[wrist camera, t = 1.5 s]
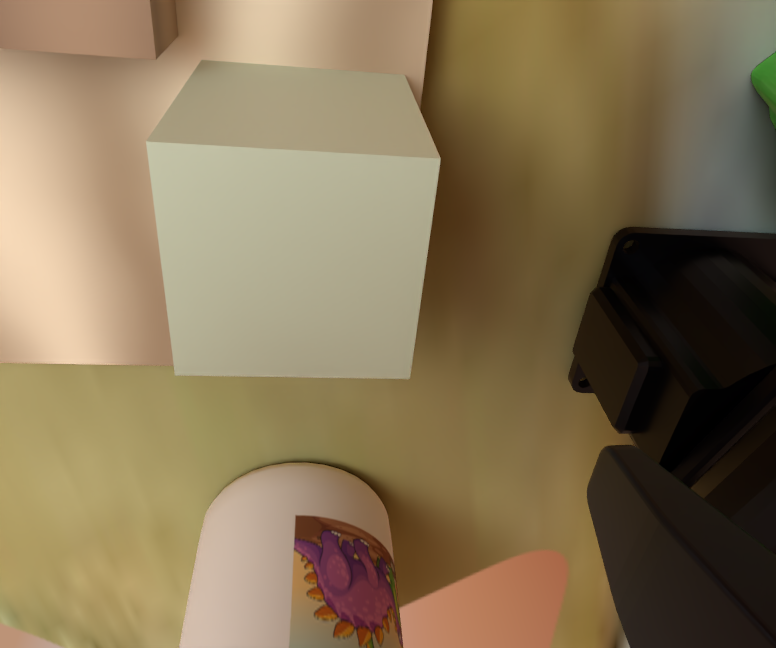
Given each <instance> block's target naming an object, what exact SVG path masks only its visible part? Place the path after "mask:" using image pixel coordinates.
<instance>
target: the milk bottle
mask: <svg viewBox="0 0 776 648" xmlns="http://www.w3.org/2000/svg"><path fill="white" fill-rule="evenodd" d="M179 648H403V642H402V631H401V622H400V613H399V603H398V593H397V584H396V575H395V566H394V557H393V547H392V539H391V532H390V525H389V518H388V514H387V511H386V509H385V507H384V505H383V503H382V502H381V500H380V499H379V497H378V496H377V494H376V493H375V492H374V491H373V490H372V489H371V488H370V487H369V486H368V484H366V483H365V482H363V481H362V480H360V479H359V478H358V477H356V476H355V475H352V474H350V473H348V472H346V471H343V470H341V469H338V468H334V467H330V466H327V465H323V464H314V463H307V462H302V463H283V464H277V465H270V466H266V467H263V468H260V469H257V470H253V471H251V472H249V473H247V474H245V475H243V476H241V477H239V478H237V479H236V480H234V481H233V482H232V483H230V484H229V485H228V486H226V487H225V488H224V489H223V490H222V492H221V493H220V494H219V495H218V496H217V497H216V498H215V500H214V501H213V502H212V504H211V505H210V507H209V508H208V510H207V512H206V515H205V518H204V522H203V526H202V531H201V535H200V540H199V544H198V550H197V555H196V560H195V565H194V571H193V576H192V581H191V586H190V592H189V597H188V603H187V608H186V613H185V619H184V624H183V630H182V635H181V640H180V646H179Z"/></svg>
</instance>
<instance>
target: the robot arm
mask: <svg viewBox="0 0 776 648" xmlns="http://www.w3.org/2000/svg"><path fill="white" fill-rule="evenodd" d="M630 240H634V242H633V244H632V245H631V246H630V247H628V248H623V247H624V245H625V244H626V243H627V242H628V241H630ZM573 353H574V355H575V357H574V360H573V363H572V366H571V369H570V372H569V377H568V380H569V382H570V384H571V386H572V388H573V390H575V391H576V392H580V393H595V394H596V396H597V398H598V400H599V402H600V404H601V406H602V408H603V409H604V411H605V413H606V415H607V417H608V419H609V421H610V422H611V424H612V426H613V427H614V428H615V429H616V431H617V432H618V433H621V434H629V435H630V437H631V439H632V441H633V442H634V444H635V446H636V447H635V446H632V445H615V446H606V447H604V448H603V449H602V450H601V452H600V454H599V457H598V460H597V462H596V465H595V468H594V470H593V473H592V476H591V478H590V481H589V484H588V488H587V500H588V505H589V509H590V513H591V517H592V521H593V525H594V528H595V532H596V536H597V540H598V544H599V547H600V551H601V555H602V559H603V563H604V566H605V570H606V574H607V578H608V582H609V585H610V589H611V593H612V596H613V600H614V603H615V607H616V610H617V613H618V616H619V618H620V621H621V624H622V627H623V630H624V632H625V635H626V638H627V640H628V643H629V645H630V648H776V234H767V233H746V232H725V231H703V230H682V229H661V228H640V227H628V228H624V229H622V230H620V231H618V232H617V233H616V234H615V235H614V237H613V239H612V241H611V244H610V247H609V250H608V253H607V256H606V259H605V262H604V266H603V269H602V272H601V275H600V278H599V281H598V284H597V287H596V288H595V289H594V290H593V291H592V292H591V293H590V296H589V299H588V302H587V305H586V308H585V312H584V315H583V318H582V321H581V324H580V328H579V331H578V334H577V337H576V340H575V343H574V347H573ZM583 377H586V379H585V380H582V381H580V379H582V378H583Z"/></svg>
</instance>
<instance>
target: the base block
mask: <svg viewBox="0 0 776 648" xmlns="http://www.w3.org/2000/svg"><path fill="white" fill-rule="evenodd" d="M177 37H178V26H177V14H176V3H175V0H0V48H1V49H15V50H29V51H42V52H56V53H70V54H83V55H97V56H110V57H124V58H138V59H151V60H156V59H157V58H158V57H159V56H160V55H161V54H162V53H163V52H164V51H165V50H166V49H167V48H168V47H169V46H170V44H171V43H172V42H173V41H174V40H175V39H176V38H177Z"/></svg>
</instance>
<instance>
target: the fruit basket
mask: <svg viewBox="0 0 776 648" xmlns="http://www.w3.org/2000/svg"><path fill="white" fill-rule="evenodd" d="M751 80H752V84H753V85H754V87H755V89H756V91H757V92H758V93H759V95H760V96H761V97H762V98H763V100H764V101H765V102H766V103H767V105H768V106H769V111H770V119H771V121H772V123H773V125H774V127H775V130H776V52H775V53H774V54H772V55H771V56H770V57H768V58H767V59H766V60H764V61H763V62H762V63H760V64H759V65H758V66H757V67H756V68H755V69H754V70H753V71H752V73H751Z"/></svg>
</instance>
